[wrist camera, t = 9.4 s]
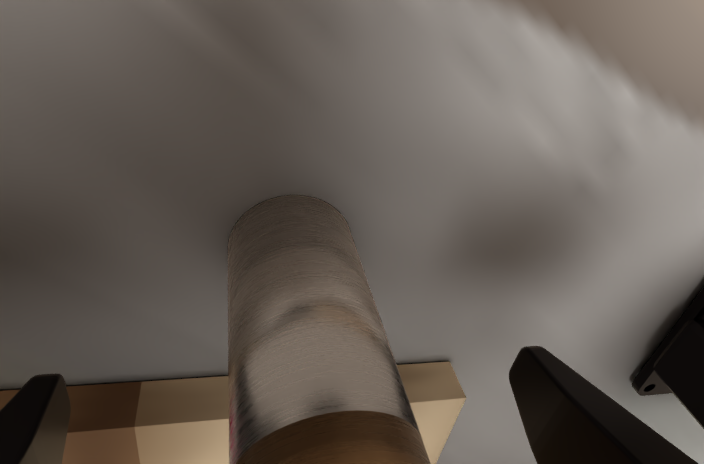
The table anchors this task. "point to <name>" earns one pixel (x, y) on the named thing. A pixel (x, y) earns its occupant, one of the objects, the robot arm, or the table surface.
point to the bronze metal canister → (309, 346)
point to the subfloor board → (213, 417)
